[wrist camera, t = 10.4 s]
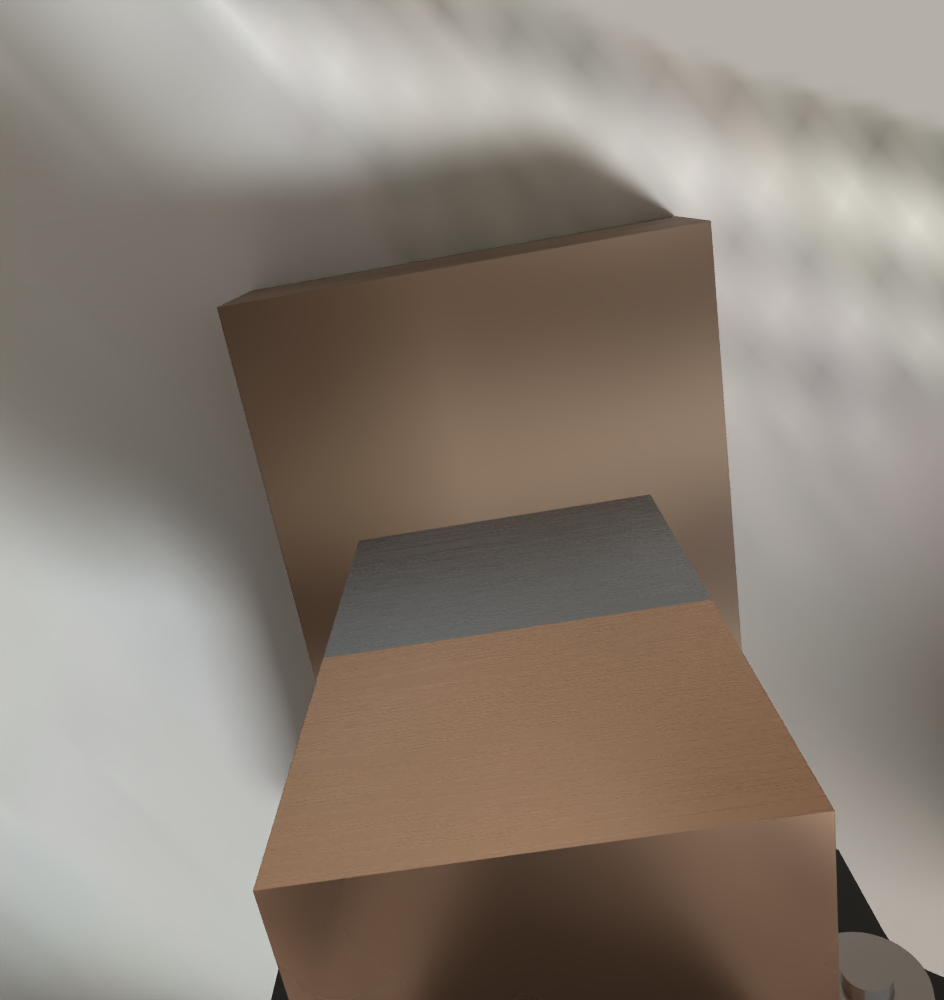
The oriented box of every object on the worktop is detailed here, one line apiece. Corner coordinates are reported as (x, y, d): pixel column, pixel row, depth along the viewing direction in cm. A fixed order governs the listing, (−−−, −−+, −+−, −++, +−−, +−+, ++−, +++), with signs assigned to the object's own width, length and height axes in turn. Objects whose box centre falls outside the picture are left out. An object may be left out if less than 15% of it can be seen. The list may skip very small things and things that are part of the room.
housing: (649, 494, 13) (834, 809, 6) (696, 940, 16) (853, 1461, 10) (359, 540, 13) (252, 891, 7) (459, 971, 16) (453, 1500, 10)
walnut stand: (724, 785, 25) (756, 861, 22) (387, 833, 26) (377, 913, 23) (675, 216, 20) (710, 220, 17) (251, 290, 20) (217, 307, 18)
